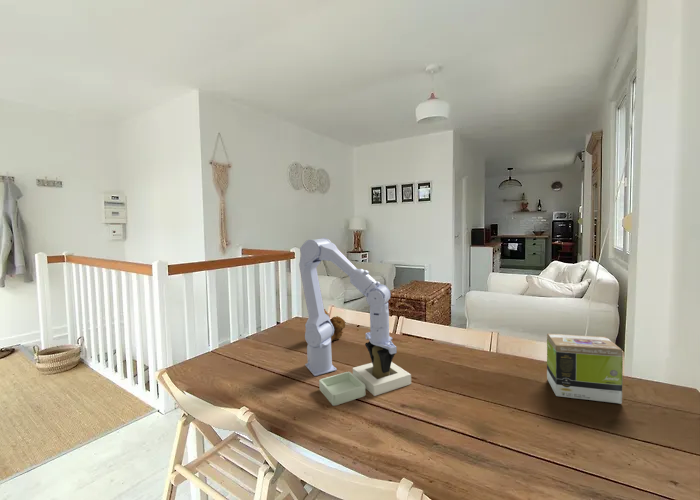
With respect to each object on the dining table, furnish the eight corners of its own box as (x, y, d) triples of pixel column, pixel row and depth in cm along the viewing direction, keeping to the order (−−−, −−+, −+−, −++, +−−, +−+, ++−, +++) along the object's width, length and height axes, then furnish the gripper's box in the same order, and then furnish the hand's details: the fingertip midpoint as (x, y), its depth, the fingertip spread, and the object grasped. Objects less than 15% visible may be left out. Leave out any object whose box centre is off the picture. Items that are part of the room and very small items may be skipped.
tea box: (606, 386, 92) (608, 335, 91) (622, 405, 82) (625, 349, 81) (545, 379, 97) (546, 331, 95) (554, 397, 87) (556, 344, 86)
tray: (319, 389, 96) (318, 379, 96) (349, 380, 100) (349, 371, 100) (333, 406, 87) (332, 395, 87) (366, 395, 91) (365, 385, 91)
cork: (390, 385, 96) (389, 350, 95) (370, 384, 97) (369, 349, 96) (391, 376, 102) (390, 342, 101) (372, 375, 103) (371, 341, 102)
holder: (352, 376, 103) (352, 367, 102) (387, 367, 109) (386, 358, 108) (374, 396, 91) (374, 385, 91) (411, 383, 97) (411, 374, 97)
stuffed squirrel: (310, 337, 139) (309, 307, 137) (342, 333, 142) (341, 304, 141) (313, 346, 129) (312, 314, 128) (348, 342, 132) (346, 310, 131)
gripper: (404, 329, 94) (405, 374, 95) (378, 317, 106) (379, 356, 108) (384, 334, 90) (385, 380, 92) (359, 320, 103) (360, 361, 104)
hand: (380, 368), depth 99 cm, fingers closed on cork, 5 cm apart
